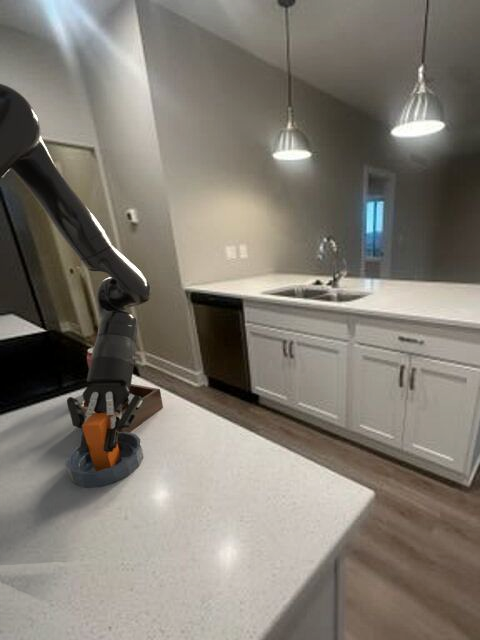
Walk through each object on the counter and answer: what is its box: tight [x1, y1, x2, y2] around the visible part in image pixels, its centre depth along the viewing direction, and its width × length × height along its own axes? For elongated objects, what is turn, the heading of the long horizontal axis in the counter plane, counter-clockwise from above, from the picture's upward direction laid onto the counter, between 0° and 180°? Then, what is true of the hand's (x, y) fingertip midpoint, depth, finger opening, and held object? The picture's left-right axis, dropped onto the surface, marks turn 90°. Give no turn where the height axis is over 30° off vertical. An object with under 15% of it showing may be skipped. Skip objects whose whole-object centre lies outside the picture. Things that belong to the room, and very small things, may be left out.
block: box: [82, 413, 121, 471], centre depth 63 cm, size 4×3×10 cm
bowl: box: [65, 432, 144, 488], centre depth 65 cm, size 12×12×4 cm
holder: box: [82, 383, 164, 433], centre depth 79 cm, size 13×13×6 cm
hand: (98, 451), depth 62 cm, fingers closed on block, 3 cm apart
